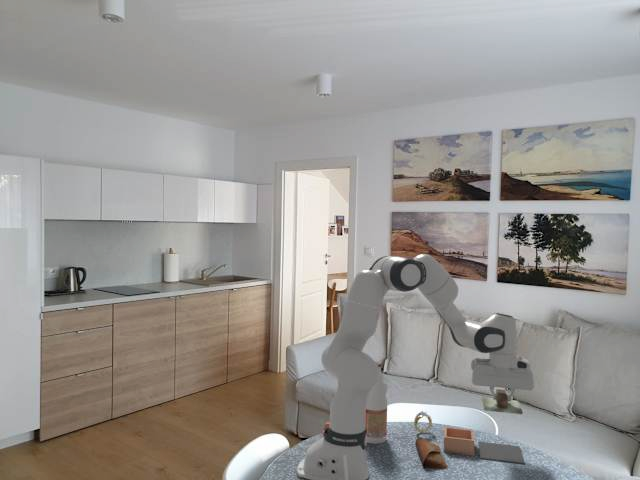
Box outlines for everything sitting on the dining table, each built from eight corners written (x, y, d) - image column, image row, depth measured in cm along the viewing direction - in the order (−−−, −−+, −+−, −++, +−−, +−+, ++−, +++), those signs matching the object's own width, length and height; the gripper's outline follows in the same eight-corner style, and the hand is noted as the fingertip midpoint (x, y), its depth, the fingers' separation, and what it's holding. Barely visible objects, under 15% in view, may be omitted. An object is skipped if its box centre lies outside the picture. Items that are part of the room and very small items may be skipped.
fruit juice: (378, 446, 175) (380, 367, 175) (355, 440, 180) (357, 363, 180) (390, 438, 183) (392, 362, 183) (368, 432, 188) (370, 358, 188)
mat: (480, 458, 167) (480, 457, 167) (478, 442, 181) (478, 441, 181) (525, 464, 164) (525, 463, 164) (519, 447, 177) (519, 446, 177)
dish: (443, 451, 172) (444, 437, 172) (444, 440, 182) (444, 426, 182) (473, 455, 170) (474, 440, 170) (472, 443, 179) (473, 430, 179)
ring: (415, 434, 186) (416, 413, 186) (412, 431, 190) (412, 410, 190) (433, 433, 188) (433, 412, 188) (429, 430, 191) (430, 409, 191)
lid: (484, 410, 168) (484, 396, 168) (482, 399, 179) (482, 386, 179) (522, 414, 165) (522, 399, 165) (517, 402, 176) (518, 389, 176)
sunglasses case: (449, 469, 159) (439, 450, 159) (430, 479, 159) (420, 461, 159) (438, 446, 177) (429, 429, 177) (421, 455, 177) (412, 439, 177)
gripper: (471, 359, 172) (470, 399, 172) (535, 364, 166) (534, 406, 166) (470, 355, 178) (470, 394, 178) (532, 360, 173) (531, 400, 173)
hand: (501, 400), depth 172 cm, fingers closed on lid, 3 cm apart
